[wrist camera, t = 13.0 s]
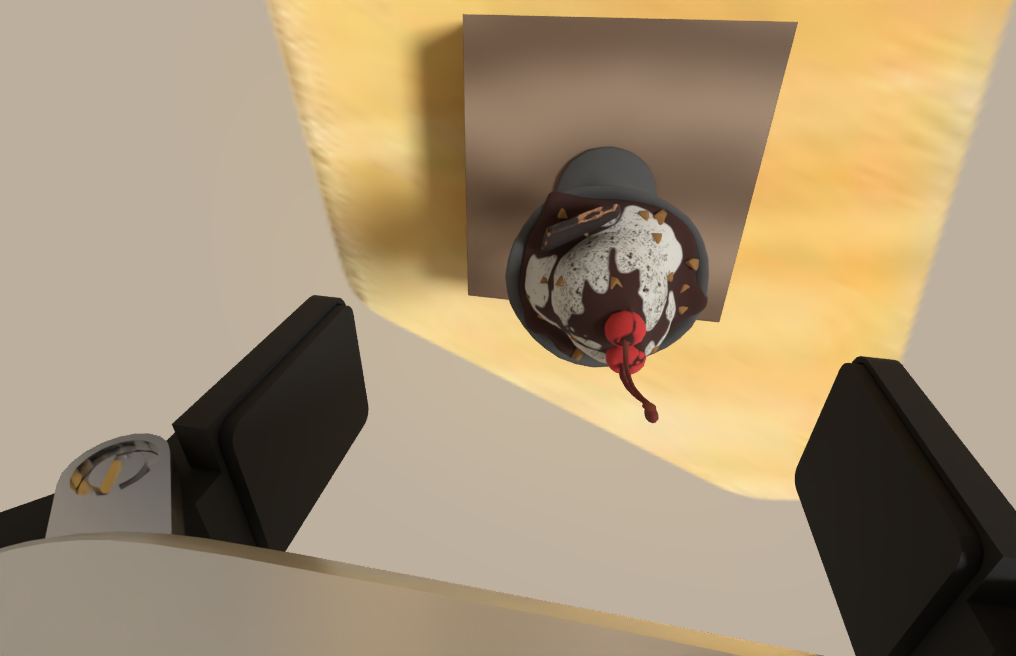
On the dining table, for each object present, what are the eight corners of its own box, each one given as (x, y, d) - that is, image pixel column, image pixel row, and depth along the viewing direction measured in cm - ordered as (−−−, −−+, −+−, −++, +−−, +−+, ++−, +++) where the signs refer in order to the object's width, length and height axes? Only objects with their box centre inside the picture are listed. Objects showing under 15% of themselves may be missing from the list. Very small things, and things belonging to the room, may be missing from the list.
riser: (483, 15, 27) (462, 14, 23) (773, 22, 24) (797, 22, 21) (483, 268, 34) (468, 295, 30) (708, 290, 32) (719, 322, 28)
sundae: (647, 274, 28) (682, 491, 15) (525, 240, 28) (455, 426, 15) (698, 149, 24) (800, 292, 11) (558, 111, 24) (503, 211, 11)
